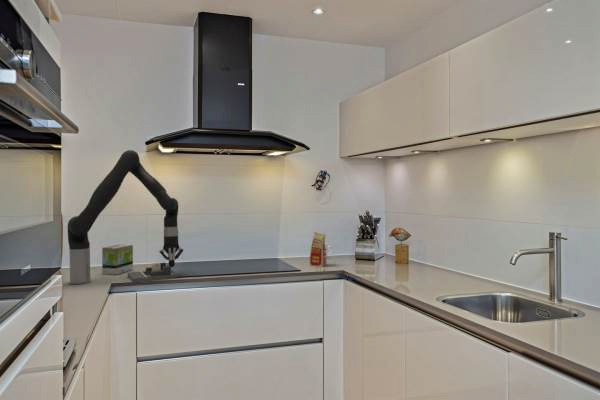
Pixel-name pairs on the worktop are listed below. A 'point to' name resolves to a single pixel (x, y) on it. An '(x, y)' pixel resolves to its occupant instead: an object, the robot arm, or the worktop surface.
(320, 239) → the red food bag
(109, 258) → the tea box
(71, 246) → the robot arm
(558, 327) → the worktop surface
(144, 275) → the breaker panel
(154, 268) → the breaker
